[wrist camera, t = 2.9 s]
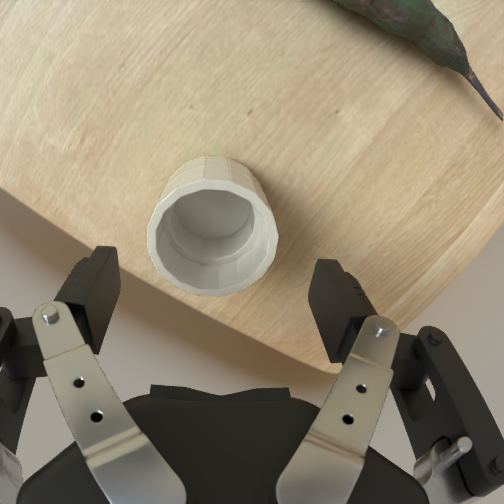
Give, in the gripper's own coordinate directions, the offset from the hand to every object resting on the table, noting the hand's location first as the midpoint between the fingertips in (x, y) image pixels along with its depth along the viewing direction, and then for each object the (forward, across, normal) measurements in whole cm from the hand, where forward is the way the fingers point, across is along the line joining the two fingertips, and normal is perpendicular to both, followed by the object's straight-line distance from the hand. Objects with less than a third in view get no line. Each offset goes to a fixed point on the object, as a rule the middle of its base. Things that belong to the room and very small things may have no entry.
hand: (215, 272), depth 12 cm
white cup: (+8, 0, 0) cm, 8 cm away
